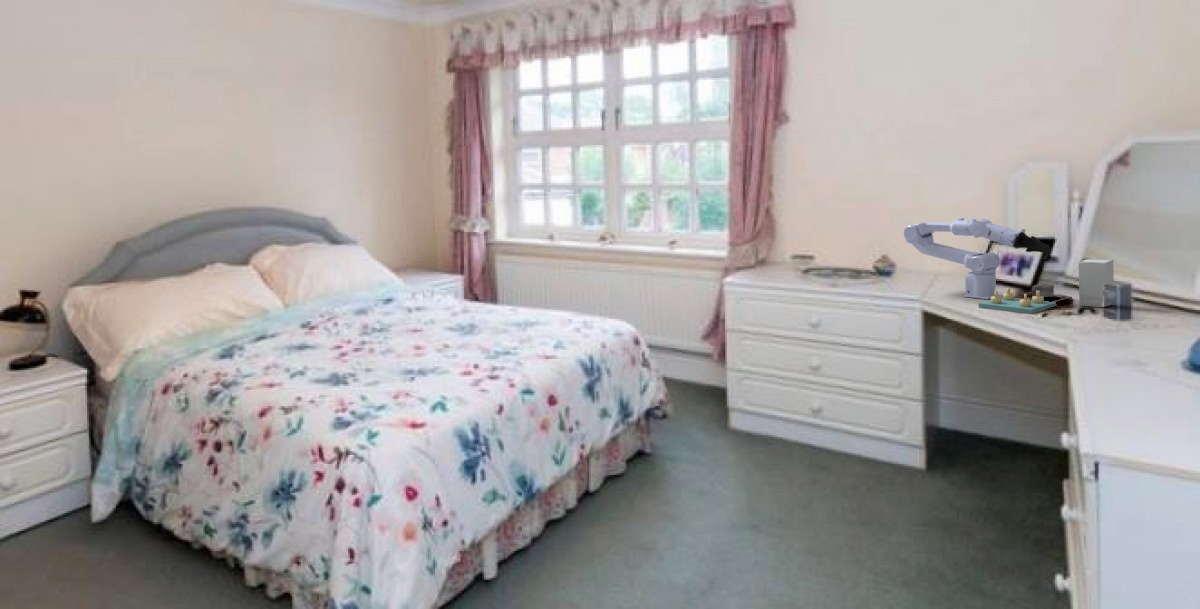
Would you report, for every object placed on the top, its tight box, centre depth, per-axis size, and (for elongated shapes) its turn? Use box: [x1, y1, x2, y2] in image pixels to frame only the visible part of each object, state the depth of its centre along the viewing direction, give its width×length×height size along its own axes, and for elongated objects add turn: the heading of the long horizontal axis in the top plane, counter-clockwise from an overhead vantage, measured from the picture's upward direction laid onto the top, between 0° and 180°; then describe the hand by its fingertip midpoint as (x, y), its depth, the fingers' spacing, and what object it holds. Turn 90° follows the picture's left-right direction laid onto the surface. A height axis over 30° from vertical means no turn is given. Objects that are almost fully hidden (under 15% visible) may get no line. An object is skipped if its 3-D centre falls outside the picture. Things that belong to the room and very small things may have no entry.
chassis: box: [978, 287, 1057, 315], centre depth 247 cm, size 18×14×6 cm
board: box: [1014, 283, 1073, 302], centre depth 254 cm, size 14×10×5 cm
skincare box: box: [1078, 258, 1115, 308], centre depth 239 cm, size 8×6×15 cm
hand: (1044, 248), depth 247 cm, fingers open, 7 cm apart
